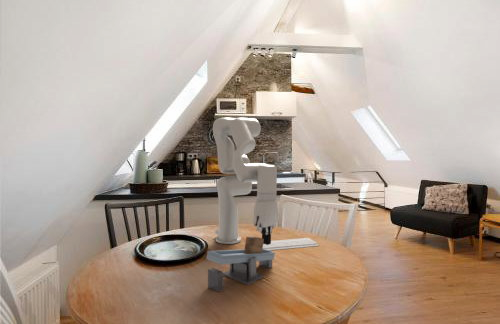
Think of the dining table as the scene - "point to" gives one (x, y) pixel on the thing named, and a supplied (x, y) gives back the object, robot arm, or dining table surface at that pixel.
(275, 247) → the baseboard molding
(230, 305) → the dining table surface
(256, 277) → the stand
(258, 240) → the rider
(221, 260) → the beam
